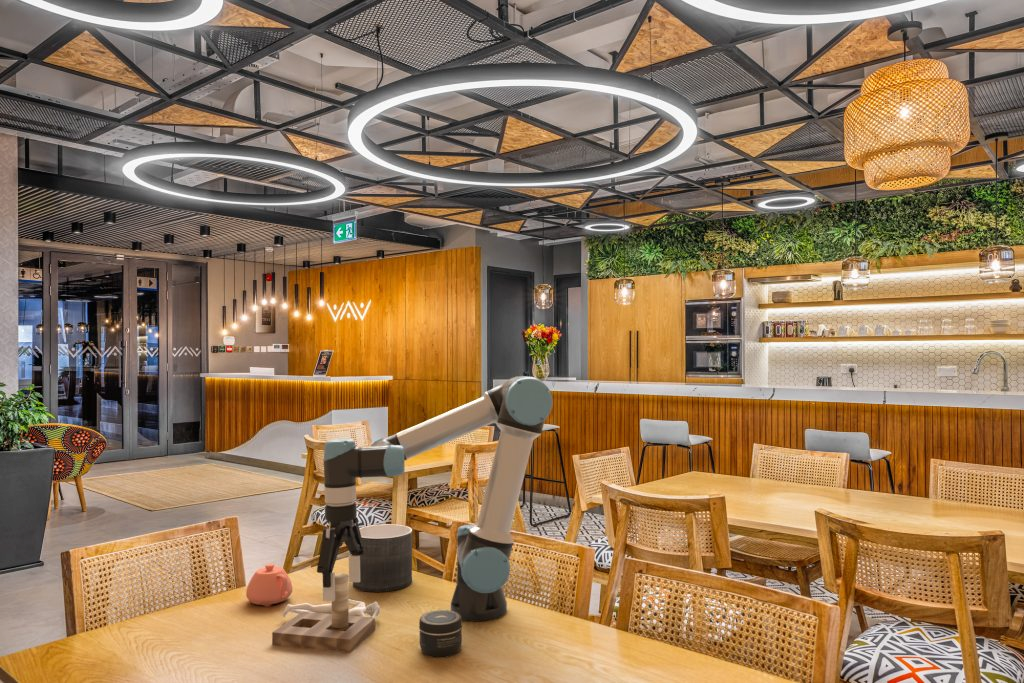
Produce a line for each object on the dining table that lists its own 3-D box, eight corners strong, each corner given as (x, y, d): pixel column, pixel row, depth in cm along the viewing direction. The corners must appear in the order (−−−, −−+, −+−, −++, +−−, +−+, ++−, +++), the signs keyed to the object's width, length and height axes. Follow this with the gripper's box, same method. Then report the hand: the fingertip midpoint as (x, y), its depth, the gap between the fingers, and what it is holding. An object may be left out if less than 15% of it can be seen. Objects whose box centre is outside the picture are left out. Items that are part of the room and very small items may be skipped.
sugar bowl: (274, 591, 204) (275, 556, 204) (305, 600, 196) (305, 564, 196) (237, 603, 194) (237, 566, 194) (267, 613, 186) (267, 575, 186)
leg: (351, 636, 170) (351, 574, 170) (344, 642, 166) (344, 579, 166) (336, 634, 171) (336, 573, 171) (328, 641, 167) (328, 578, 167)
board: (375, 629, 174) (375, 617, 174) (349, 652, 160) (350, 639, 160) (302, 623, 178) (302, 611, 178) (272, 645, 165) (272, 632, 165)
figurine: (284, 629, 180) (379, 631, 179) (278, 621, 176) (374, 623, 174) (291, 600, 185) (384, 601, 184) (285, 592, 181) (379, 594, 179)
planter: (343, 591, 204) (343, 537, 204) (365, 573, 221) (365, 523, 222) (401, 594, 201) (401, 539, 201) (419, 575, 218) (419, 525, 219)
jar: (414, 645, 164) (414, 613, 165) (454, 638, 168) (454, 607, 168) (426, 662, 155) (426, 627, 155) (468, 654, 159) (468, 621, 159)
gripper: (349, 492, 182) (351, 574, 182) (300, 514, 158) (302, 608, 157) (375, 493, 181) (377, 575, 180) (330, 514, 156) (332, 609, 156)
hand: (342, 590), depth 169 cm, fingers open, 13 cm apart
